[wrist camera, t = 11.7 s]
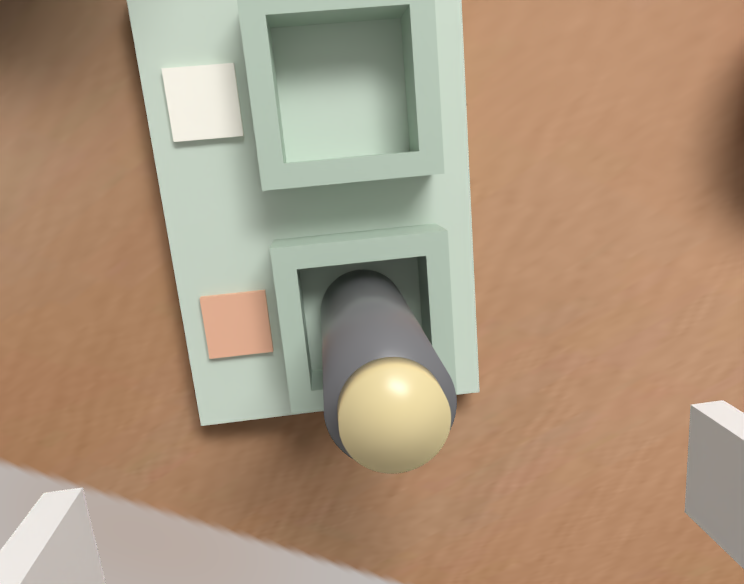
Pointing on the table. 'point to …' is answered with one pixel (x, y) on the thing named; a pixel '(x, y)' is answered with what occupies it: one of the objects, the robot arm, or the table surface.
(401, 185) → the socket block
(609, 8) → the table surface
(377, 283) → the plug
